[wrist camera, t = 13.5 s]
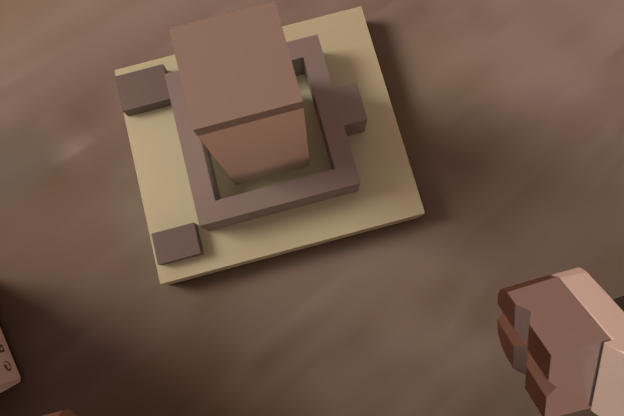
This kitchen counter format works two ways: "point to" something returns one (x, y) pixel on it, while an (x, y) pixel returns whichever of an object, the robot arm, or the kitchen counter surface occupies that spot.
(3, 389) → the skincare box
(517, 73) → the kitchen counter surface
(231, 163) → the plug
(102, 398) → the kitchen counter surface
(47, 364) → the kitchen counter surface
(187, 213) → the board
